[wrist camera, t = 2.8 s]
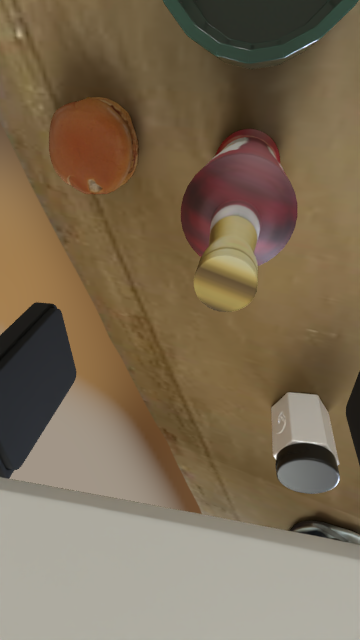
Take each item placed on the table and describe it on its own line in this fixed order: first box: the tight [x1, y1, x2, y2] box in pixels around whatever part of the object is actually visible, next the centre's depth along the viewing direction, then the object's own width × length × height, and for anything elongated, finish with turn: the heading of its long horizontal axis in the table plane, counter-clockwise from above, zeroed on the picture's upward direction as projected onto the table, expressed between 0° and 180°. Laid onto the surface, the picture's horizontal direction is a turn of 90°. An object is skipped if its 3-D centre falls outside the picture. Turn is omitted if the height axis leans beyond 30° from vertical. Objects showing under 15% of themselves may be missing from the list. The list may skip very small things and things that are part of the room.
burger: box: [49, 97, 139, 194], centre depth 37 cm, size 10×9×5 cm
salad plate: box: [290, 521, 360, 545], centre depth 74 cm, size 19×18×5 cm
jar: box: [271, 392, 340, 494], centre depth 51 cm, size 9×8×12 cm
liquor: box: [181, 129, 297, 312], centre depth 25 cm, size 7×7×28 cm
